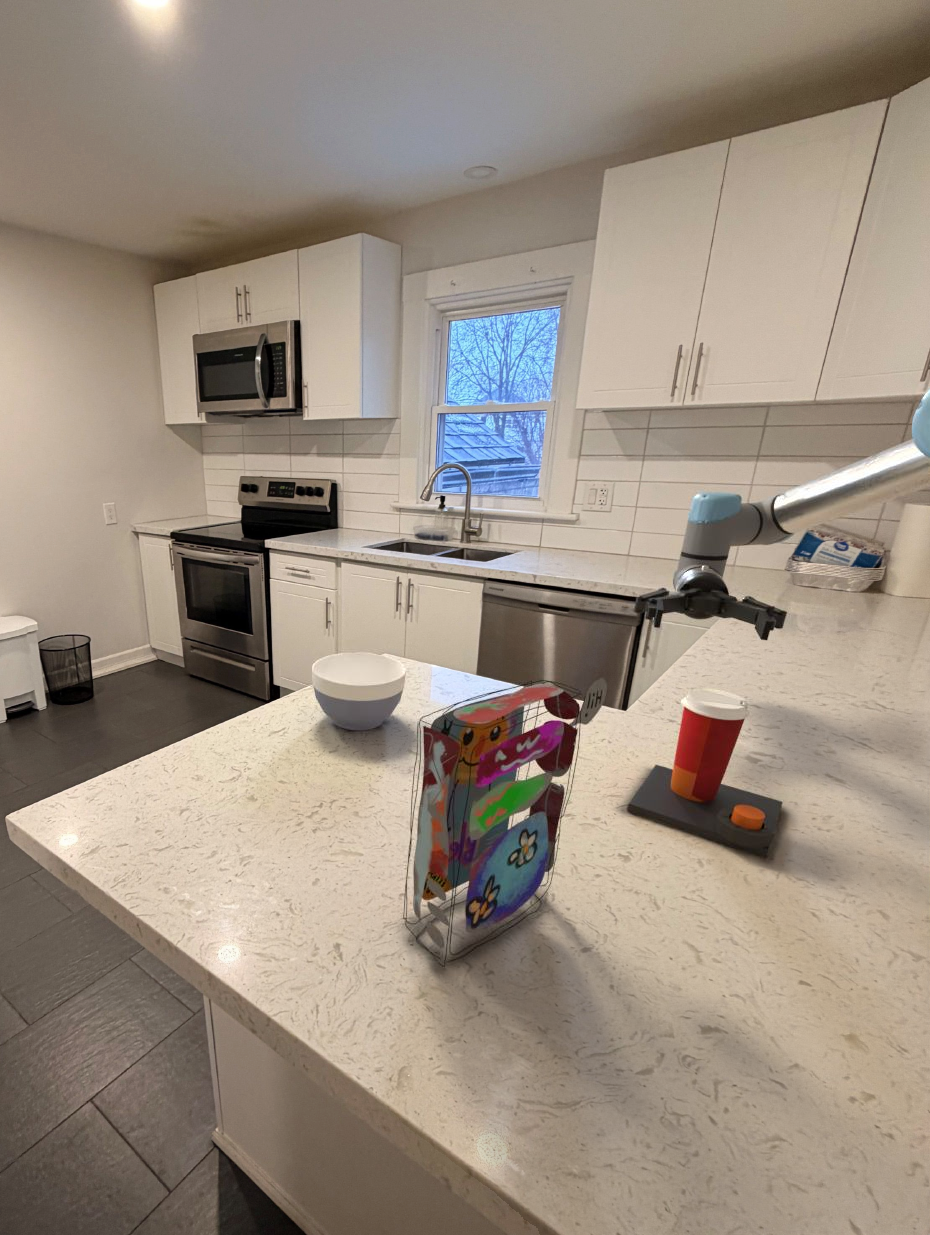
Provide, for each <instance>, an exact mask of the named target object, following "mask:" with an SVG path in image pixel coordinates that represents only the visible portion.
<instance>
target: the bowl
mask: <svg viewBox="0 0 930 1235" xmlns="http://www.w3.org/2000/svg"><path fill="white" fill-rule="evenodd" d="M406 674H407V668H406V666H405V665H404V664H403V663H402V662H401V661H399V660H397V659H395V658H393V657H390V656H386V655H382V654H377V653H370V652H341V653H334V654H329V655H326V656H324V657H321V658H319V659H317V660H316V661H314V662H313V664H312V666H311V676H312V686H313V692H314V696H315V699H316V701H317V703H318V705H319V706H320V709H321V710H322V712H323V713H324V714H325V715H326V716H328V717H329V718H330V720H331V722H332V724H334V725H335V726H337V727H339V728H342V729H345V730H350V731H368V730H373V729H376V728H378V727H380V726H381V725H382V724H383V723H384V721H385V720H386V719H387V718H389V717H390V716H392V714H393V712H394V711H395V710H396V708H397V707H398V705H399V704H400V702H401V699H402V695H403V692H404V688H405V684H406V683H405V682H406Z"/></svg>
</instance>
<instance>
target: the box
mask: <svg viewBox="0 0 930 1235" xmlns="http://www.w3.org/2000/svg"><path fill="white" fill-rule="evenodd" d="M540 682H542V683H540ZM535 683H536V684H535ZM546 683H550V684H553V685H555V686H553V685H550V684H546ZM526 685H529V686H526ZM561 685H562V686H561ZM522 686H523V687H522ZM563 686H565V687H567V688H565V687H563ZM520 687H522V688H520ZM516 688H520V689H519V690H516V691H514V692H511V693H505V694H502V695H498V696H494V697H490V698H486V699H482V698H485V697H488V696H490V695H492V694H497V693H501V692H504V691H508V690H511V689H512V690H513V689H516ZM568 688H570V689H572V690H570V689H568ZM607 688H608V686H607V681H606V680H605V678H604V677H601V678H598V679H596V680H595V681H594V682H592V684H591V685H590V687H589V688H588V690H587V691H586V694H584V699H583V702H582V705H581V706H580V703H578V701H577V700H576V699H575V698H577V697H578V696H579V695H580V696H583V694H582V690H580V689H578V688H575V687H572V686H569V685H567V684H564V683H561V682H556V681H552V680H547V679H546V680H545V679H541V680H536V681H533V680H532V679H531V680H528V681H527V682H525V683H522V684H520V685H517V686H512V687H508V688H504V689H500V690H495V691H491V692H487V693H483V694H480V695H476V696H472V697H470V698H467V699H465V700H462V701H458V702H456V703H454V704H451V705H448V706H446V707H445V708H444V707H443V708H442V709H441V708H440V709H439V710H436V711H433V712H430V713H429V714H427V715H423V716H422V717H420V718H419V719H417V720H418V723H417V727H416V730H417V731H416V754H415V762H414V767H413V775H412V785H411V786H412V787H411V798H410V800H411V802H410V819H411V820H410V824H409V825H410V828H409V830H410V839H409V845H408V856H407V868H406V876H405V877H406V878H405V886H404V896H405V897H404V900H403V913H402V914H403V916H402V919H403V920H404V921H405V922H404V923H405V924H404V925H405V926H404V927H406V928H407V929H408V931H409V932H410V933H411V934H412V935H413V936H414V938H415V941H416V942H417V943H418V944H419V945H420V946H421V947H422V948H424V949H425V950H426V951H427V952H429V953H430V955H431V956H432V957H433V959H434V961H436V962H437V963H438V965H440V966H441V967H442V968H445V967H446V962H448V963H450V962H454V961H456V960H458V959H461V958H463V957H465V956H467V955H468V954H470V953H471V952H473V950H475V949H477V948H478V947H480V946H482V945H485V944H487V943H489V942H491V941H493V940H495V939H497V938H498V937H499V936H501V935H502V934H503V933H504V932H506V931H507V930H509V929H511V928H514V927H515V926H516V925H518V924H519V923H521V922H522V921H523V920H524V919H526V918H527V917H529V915H532V914H534V913H536V912H538V911H539V909H540V908H541V906H542V901H541V900H542V898H543V897H544V896H545V894H546V893H547V892H548V890H549V889H550V886H551V884H552V882H553V876H554V872H555V871H554V870H555V865H556V861H557V857H558V851H559V843H560V837H561V835H560V834H561V826H562V825H561V824H562V818H563V817H564V815H565V812H566V809H567V806H568V803H569V800H570V796H571V794H572V789H573V784H574V783H573V782H574V779H575V778H574V777H575V772H576V766H577V762H578V756H579V751H580V750H579V749H580V740H581V739H580V738H581V724H582V725H585V726H586V725H588V724H590V723H591V722H592V721H593V719H594V718H595V717H596V716H597V714H598V713H599V711H600V710H601V708H602V706H603V704H604V702H605V700H606V696H607V690H608V689H607ZM565 690H566V691H568V692H570V693H573V694H576V695H574V696H571V694H569V693H568V692H566V691H565ZM573 690H575V691H576V692H575V691H573ZM477 699H478V701H474V700H477ZM479 699H482V700H479ZM471 701H473V702H471ZM541 701H543V705H540V703H541ZM465 702H470V703H467V704H465V705H462V706H459V707H456V706H458V705H459V704H463V703H465ZM537 702H538V703H537ZM535 703H537V704H538V706H536V707H531V705H532V704H535ZM525 706H528V708H527V709H526V710H525ZM455 707H456V708H455ZM544 707H545V709H546V711H544V712H541V713H539V708H544ZM453 708H454V709H453ZM446 709H447V710H446ZM451 709H452V710H451ZM535 709H536V710H537V711H536V715H534V716H532V717H530V718H528V715H529V711H531V710H535ZM444 710H446V711H444ZM441 711H444V712H443V713H442V715H439V716H438V717H437V718H435V719H434V720H433V722H432V723H430V722H427V721H424V720H422V719H423V718H425V717H429V716H431V715H433V714H435V713H439V712H441ZM525 713H526V715H525ZM546 713H549V714H550V715H552V716H553V717H555V718H558V719H560V720H555V719H554V720H553V719H552V720H548V721H546V722H545V721H544V723H543V724H541V725H540V726H536V725H537V721H538V717H539V716H542V715H543V714H546ZM524 715H525V719H524ZM534 718H535V721H534V722H535V723H534V727H533V728H532V729H530V730H527V731H525V727H526V726H525V725H526V722H528V721H530V720H531V719H534ZM562 720H568V721H569V720H572V722H570V723H567V722H565V721H562ZM421 722H423V723H424V724H427V725H429V726H430V727H428V726H427V725H422V728H421ZM577 725H579V726H578V727H577ZM421 729H423V730H421ZM422 732H423V736H422ZM577 736H578V744H577ZM422 737H423V774H422V785H421V786H422V788H421V792H420V794H421V795H420V800H419V807H418V812H417V813H418V814H417V829H416V830H417V833H416V844H415V850H414V856H413V870H412V871H413V897H412V908H413V912H414V916H416V918H417V919H418V921H416V922H415V923H413V922H409V921H408V920H407V918H408V874H409V864H410V858H411V850H412V842H413V841H412V838H413V837H412V834H413V826H414V817H415V808H416V803H417V796H418V789H419V781H420V780H419V779H420V770H421V760H422V744H421V743H422V742H421V741H422V739H421V738H422ZM576 745H577V751H576V757H575V763H574V769H573V775H572V778H571V784H570V777H571V771H572V766H573V760H574V755H575V748H576ZM418 750H419V751H418ZM418 752H419V764H418V774H417V783H416V792H415V797H414V785H415V784H414V783H415V771H416V767H417V762H418ZM533 761H535V763H536V764H537V766H538V767H539V768H540V769H541V770H542V771H543V772H542V773H540V774H537V775H534V776H532V777H529V778H528V774H529V770H530V766H531V762H533ZM526 764H528V768H527V772H526V775H525V776H526V777H525V779H524V780H523V779H522V780H521V779H520V780H519V775H520V769H521V767H523V766H524V765H526ZM568 771H569V773H568ZM567 773H568V780H567V786H566V792H565V786H564V785H563V784H560V783H559V784H557V783H555V782H553V777H555V778H560V777H564V776H565V775H566V774H567ZM569 784H570V790H569ZM568 790H569V791H570V792H569V794H568ZM567 795H568V798H567ZM413 797H414V798H415V799H414V798H413ZM566 798H567V800H566ZM413 799H414V805H413ZM528 809H529V814H527V815H525V816H524V819H523V820H520V822H517V823H516V824H514V825H513V822H514V815H516V814H519V813H523V812H524V811H526V810H528ZM510 817H511V818H512V819H511V825H510V828H509V824H510ZM557 833H558V834H557ZM556 843H557V845H556ZM555 850H556V851H555ZM551 870H552V873H551V878H549V874H550V871H551ZM546 873H547V881H546V883H544V884H543V885H541V884H542V882H543V880H544V876H545V875H546ZM549 879H550V882H549ZM466 883H468V886H466V887H464V888H462V889H461V890H460V891H459V892H457V888H458V887H460V886H461V885H464V884H466ZM548 883H549V885H548V887H547V889H546V890H545V892H544V893H543V894H542V895H541V896H540V898H539V896H537V895H536V893H537V891H538V890H539V887H544V886H546V885H547V884H548ZM466 889H467V891H466V892H467V893H466V899H465V900H463V901H460V902H456V897H457V896H458V895H460V894H461V893H462V892H463V891H464V890H466ZM450 891H452V892H451V898H450V899H448V900H447V894H446V893H448V892H450ZM533 896H535V897H536V899H537V900H536V901H535V902H533V904H532V905H530V906H529V907H528V908H526V909H525V910H524V911H523V912H522V913H520V914H519V915H518V916H516V917H514V918H513V919H511V920H509V921H508V922H506V923H505V924H503V925H500V926H499V927H498V928H496V929H495V930H493V931H491V932H490V933H489V934H487V935H486V936H484V937H483V938H481V939H480V940H478V941H476V942H473V943H472V944H470V945H468V946H466V947H465V948H463V949H462V950H460V951H458V952H456V953H452V952H451V943H452V932H453V920H454V911H455V906H457V905H459V904H461V903H462V904H463V903H464V902H465V909H464V910H465V911H464V912H465V913H464V914H465V915H464V916H465V932H466V933H467V935H472V934H476V933H479V932H482V931H486V930H488V929H490V928H492V927H494V926H495V925H497V924H499V923H500V922H502V921H504V920H506V919H507V918H509V917H511V916H513V915H514V913H516V912H517V911H518V910H519V909H520V908H521V907H523V906H524V905H525V904H526V903H527V902H528V901H530V900H531V898H532V897H533ZM436 898H438V899H439V900H441V901H442V903H441V904H440V905H439V906H437V905H436V904H434V903H432V902H431V901H430V900H433V899H436ZM422 900H424V901H427V902H426V903H427V904H426V905H427V908H428V911H429V912H430V913H429V914H426V915H425V916H423V917H421V913H422V912H421V911H422V910H421V904H422ZM448 902H450V905H449V906H448V907H446V908H444V909H443V910H442V909H441V908H440V907H441V906H443V905H444V904H445V903H448ZM538 902H539V903H540V904H539V905H538V908H537V909H536V910H534V911H532V912H530V913H527V914H526V915H525V916H524V917H522V918H521V919H520V920H518V922H516V923H515V924H513V925H511V926H509V927H508V928H506V929H504V930H503V931H502V932H500V933H499V934H498V935H496V936H495V937H492V938H491V939H489V940H487V941H484V942H482V941H483V940H485V939H487V938H488V937H489V936H491V935H492V934H493V933H495V932H496V931H498V930H499V929H501V928H503V927H504V926H507V925H508V924H510V923H511V922H513V921H515V920H516V919H518V918H519V917H521V916H522V915H523V914H525V913H526V912H528V910H529V909H531V908H532V907H533V906H535V905H536V903H538ZM449 908H450V909H449ZM448 909H449V910H450V911H449V919H448V917H447V915H446V913H445V912H444V911H446V910H448ZM430 915H433V916H434V919H432V920H431V921H429V920H428V921H427V922H426V925H425V927H424V928H423V929H422V930H421V931H420V932H419V933H418V934H417V935H415V934H414V933H413V931H412V930H411V929H410V928H409V927H408V926H407V923H408V924H410V925H416V924H418V923H419V922H421V921H422V920H423V919H425V918H426V917H428V916H430ZM436 919H438V920H439V921H440V922H441V923H442V924H443V925H444V926H447V927H448V928H447V937H446V938H447V939H446V940H445V937H444V934H443V933H442V931H441V930H440V929H439V928H438V927H437V926H435V925H434V924H433V922H434V921H435V920H436ZM424 930H426V933H427V935H428V936H429V938H430V939H431V941H432V942H433V943H434V944H435V945H436V946H437V947H438V948H440V949H444V948H445V956H444V957H445V958H444V960H442V959H441V958H440V957H439V956H437V955H436V954H435V953H433V951H431V950H429V948H428V947H427V946H426V945H425V944H424V943H423V942H422V941H421V940H420V939H419V938H418V937H419V935H420V934H422V932H423V931H424ZM449 935H450V936H449ZM445 941H446V942H445ZM480 942H482V943H480ZM448 943H449V946H448ZM478 943H480V944H478ZM476 944H478V945H476ZM474 945H476V946H475V947H473V948H471V950H469V951H468V952H467V953H465V954H463V955H461V956H459V957H456V958H453V959H451V960H447V952H448V950H449V953H450V955H451V956H457V955H458V954H459V955H460V954H461V953H462V952H464V951H465V950H466V949H468V948H470V947H472V946H474ZM445 946H446V947H445ZM448 947H449V948H448ZM438 960H440V962H441V961H442V962H443V964H441V963H440V962H439V961H438ZM446 960H447V961H446Z"/></svg>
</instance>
